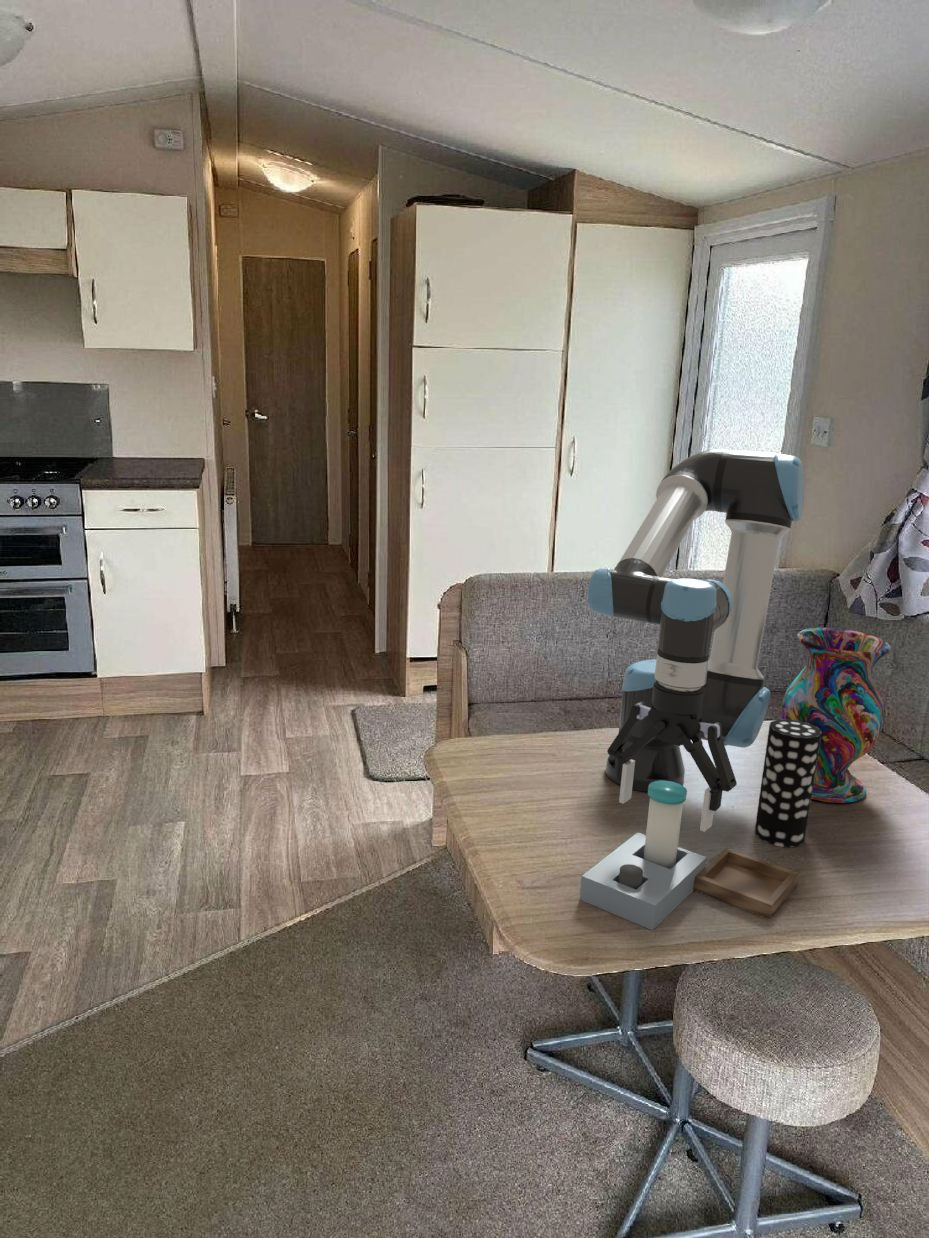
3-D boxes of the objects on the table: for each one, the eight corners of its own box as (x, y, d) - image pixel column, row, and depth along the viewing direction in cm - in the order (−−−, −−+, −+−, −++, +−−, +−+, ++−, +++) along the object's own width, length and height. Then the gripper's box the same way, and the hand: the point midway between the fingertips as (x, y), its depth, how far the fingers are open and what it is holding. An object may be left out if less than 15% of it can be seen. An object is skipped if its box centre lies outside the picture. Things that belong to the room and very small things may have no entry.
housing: (579, 899, 141) (581, 875, 140) (635, 854, 155) (637, 832, 154) (652, 930, 134) (655, 905, 133) (703, 879, 148) (706, 857, 147)
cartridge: (632, 877, 148) (642, 789, 144) (649, 863, 153) (658, 777, 149) (666, 890, 145) (677, 800, 141) (682, 875, 149) (693, 788, 145)
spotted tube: (804, 829, 166) (821, 724, 161) (804, 851, 159) (822, 741, 154) (755, 820, 169) (770, 716, 164) (753, 841, 161) (768, 732, 156)
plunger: (613, 897, 140) (615, 870, 139) (623, 888, 143) (626, 861, 142) (633, 906, 138) (636, 878, 137) (644, 896, 141) (647, 869, 140)
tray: (693, 890, 145) (695, 876, 145) (723, 860, 155) (725, 847, 154) (769, 919, 138) (771, 905, 138) (796, 886, 148) (798, 873, 147)
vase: (823, 814, 173) (848, 658, 165) (751, 774, 188) (771, 630, 180) (891, 797, 181) (918, 648, 173) (817, 760, 197) (838, 622, 189)
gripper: (593, 669, 144) (582, 796, 150) (751, 710, 130) (732, 849, 135) (617, 659, 150) (605, 782, 156) (770, 697, 136) (751, 831, 141)
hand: (664, 813), depth 146 cm, fingers open, 13 cm apart
